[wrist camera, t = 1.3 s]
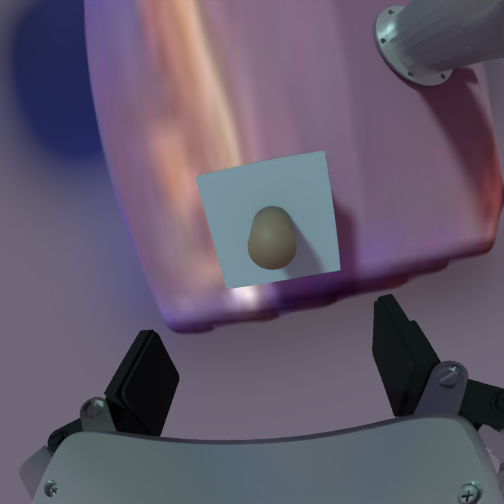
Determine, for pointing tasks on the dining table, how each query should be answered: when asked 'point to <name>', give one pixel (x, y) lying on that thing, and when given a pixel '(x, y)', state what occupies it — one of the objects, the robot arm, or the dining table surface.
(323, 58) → the dining table surface
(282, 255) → the lid
